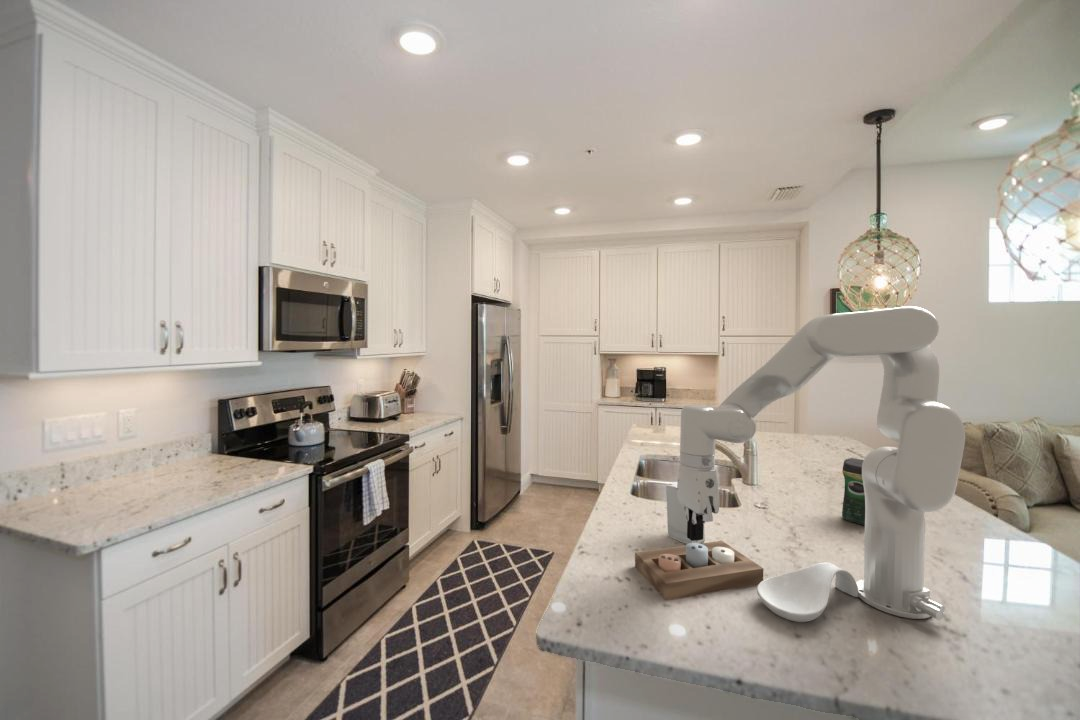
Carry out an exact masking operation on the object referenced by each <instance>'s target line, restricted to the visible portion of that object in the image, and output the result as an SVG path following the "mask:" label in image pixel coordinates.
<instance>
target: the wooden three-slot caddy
mask: <svg viewBox="0 0 1080 720" xmlns="http://www.w3.org/2000/svg"><path fill="white" fill-rule="evenodd" d="M700 544H702V545H705V546H706V547H707V548H708V566H704V567H698V568H692V567H691V566H690V565H689V564H687V563H686V545H687V544H684V545H679V546H672V547H671V546H670V547H665V548H658V549H651V550H650V549H649V550H641V551H640V550H639V551H635V552H634V567H635V568H636V569H637V571H639V572H640V574H641V575H642V576H643V577H644V578H645V580H647V581H648V583H650V585H651V586H652V587H653V588H654V589H655V590H656V591H657V593H659V594H660V595H661V596H662V597H663V598H664V600H666V601H668V600H674V599H680V598H685V597H686V598H687V597H692V596H693V597H694V596H698V595H699V596H700V595H704V594H711V593H716V592H722V591H723V592H724V591H728V590H734V589H742V588H747V587H753V586H754V587H755V586H758V585H759V583H760V582H762V581H763V580H764V567H762V566H760V564H758V563H756V562H755V561H753V560H752V559H750V558H749V557H747V556H745V555H744V554H743V553H741V552H740V551H739V550H737V549H735V548H734V547H732V546H730V545H729V544H727V543H726V542H725V541H723V540H717V541H709V542H702V543H700ZM714 547H725V548H728V549H731V550H732V551H733V552H734V562H731V563H725V564H719V563H718V562H717V561H715V560H714V559H713V558H712V548H714ZM661 554H673V555H676V556H678V557H679V558H680V559H681V570H677V571H671V572H664V571H663V570H662V569H661V568H660V567H659V556H660V555H661Z"/></svg>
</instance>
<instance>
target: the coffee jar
mask: <svg viewBox="0 0 1080 720" xmlns="http://www.w3.org/2000/svg"><path fill="white" fill-rule="evenodd" d="M863 461H864V459H860V458H854V457H849V458H846V459H844V462H843V464H842V465H843V466H842V471H841V472H842V474H843V477H844V490H843V491H844V492H843V501H842V508H841V509H842V511H841V516H842V518H843V519H844V520H846V521H848V522H852V523H854V522H855V524H859V525H861V524H862V526H865V493H864V486H863V479H862V464H863Z"/></svg>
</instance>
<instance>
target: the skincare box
mask: <svg viewBox="0 0 1080 720" xmlns="http://www.w3.org/2000/svg"><path fill="white" fill-rule="evenodd" d="M677 482H678V480H677V481H675V482H671V483H669V484H666V485H665V489H666V491H665V492H666V493H665V494H666V516H667V517H666V518H667V536H668V537H669V538H671V539H674V540H675V541H679V542H680V543H683V544H684V545H687V544H688V543H699V544H700V543H705V541H706V540H705V539H706V538H705V536H706V535H705V528H704V529H703V539H702V540H696V541H691V540H690V539H689V538H687V521H689V520H687V519H686V511H685V509H684V508H683V507H682V506H681V504H680V502H679V500H678V498H677Z"/></svg>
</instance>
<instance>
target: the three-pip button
mask: <svg viewBox="0 0 1080 720" xmlns="http://www.w3.org/2000/svg"><path fill="white" fill-rule="evenodd" d="M659 567H660V568H661V569H662V570H663V571H664V572H671V571H677V570H681V559H680V558H679V557H678V556H676V555H673V554H661V555H660V556H659Z"/></svg>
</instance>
